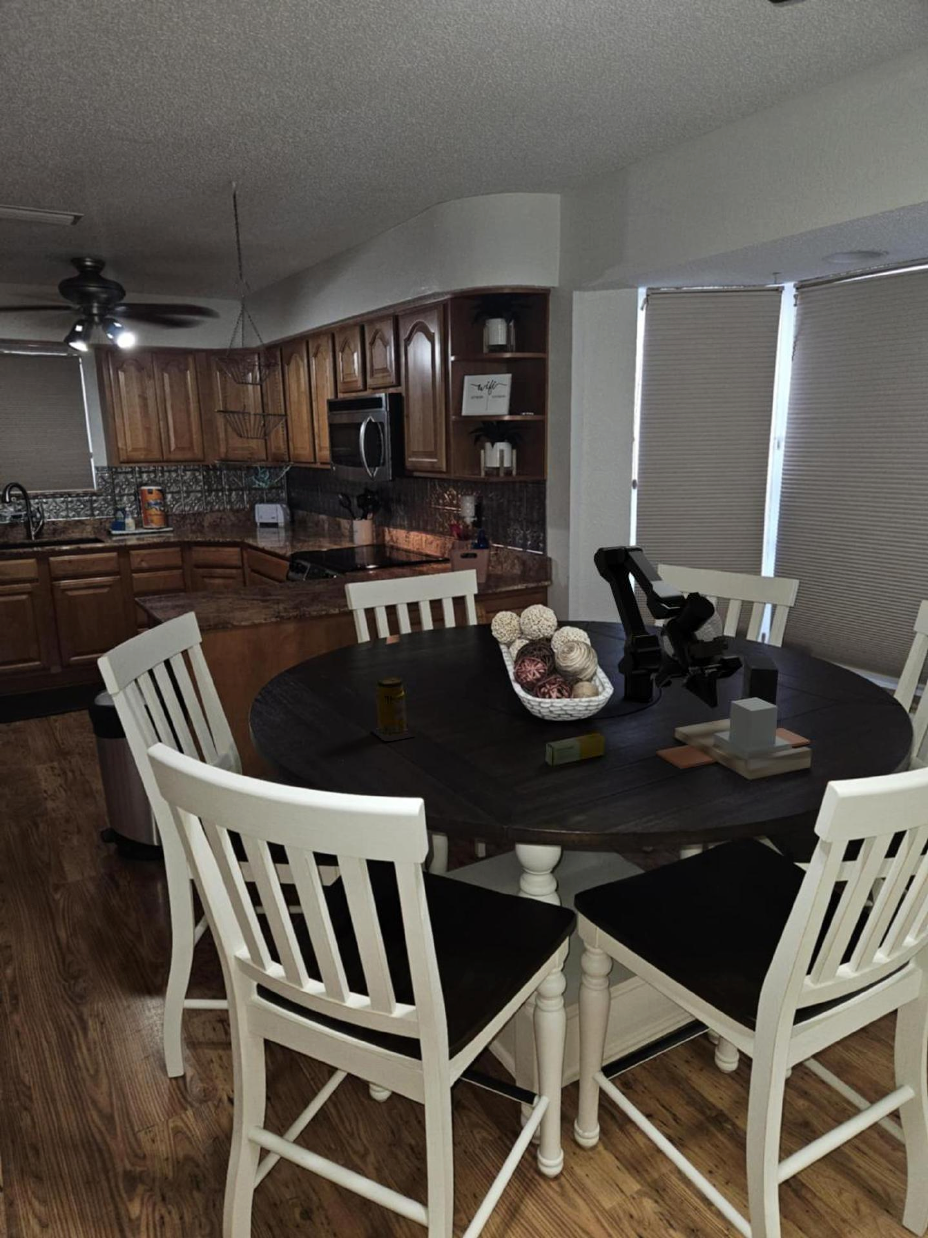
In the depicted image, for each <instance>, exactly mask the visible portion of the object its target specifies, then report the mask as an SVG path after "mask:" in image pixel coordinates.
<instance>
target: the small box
mask: <svg viewBox="0 0 928 1238" xmlns="http://www.w3.org/2000/svg"><path fill="white" fill-rule="evenodd" d="M743 658H744V659H743V675H742V686H741V687H742V688H741V689H742V690H741V700H743V699H749V698H755V697H756V698H759V699H761V700H764V701H766V702H768V703H771V704H773V705H775V706H777V705H776V704H777V693H778V682H779V681H778V680H779V668H778V666H777V665H776V664H775V662H774V661H773V658H772V657H768V656H767V657H765V656H753V655H752V656H749V655H745V656H744V657H743Z"/></svg>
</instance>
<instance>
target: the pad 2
mask: <svg viewBox="0 0 928 1238" xmlns="http://www.w3.org/2000/svg"><path fill="white" fill-rule="evenodd" d="M776 736H777V737H779V738H782V739H784V740H786V741H788V742H790V743H791V748H794V747H798V746H804V745H810V744H811V740H810V739H807V738H805V737H803V736H802V735H798V733H797V734H796V733H795V732H792V731H790V730H787V729H785V728H783V727H778V728H776Z"/></svg>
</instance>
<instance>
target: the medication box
mask: <svg viewBox="0 0 928 1238" xmlns="http://www.w3.org/2000/svg"><path fill="white" fill-rule="evenodd" d="M605 740H606V738H605V737H604V735H602V734H601V733H599V732H595V733H592V734H591V733H590V734H586V735H581V736H575V737H571V738H567V739H561V740H558V741H551V742H547V743H545V744H546V747H545V751H546V752H545V762H546V763H547V764H548V765H550V766H557V765H561V764H566V763H571V762H575V761H581V760H585V759H589V758H594V757H598V756H603V755H605V742H606V741H605Z"/></svg>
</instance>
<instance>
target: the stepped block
mask: <svg viewBox="0 0 928 1238" xmlns="http://www.w3.org/2000/svg"><path fill="white" fill-rule="evenodd" d="M778 709H779V707H778V706H777V705H776V706H775V705H773V704H771V703H768V702H766V701H764V700H761V699H759V698H756V697H755V698H749V699H743V700H742V699H739V700H732V701H730V711H729V712H730V715H729V719H730V730H729V731H726V732H720V733H715V734H714V743H715V744H716V745H718V746H720V747H722V748H724V749H726V750H727V751H729V752H731V753H733V754H735V755H737V756H738V757H740V758H742V759H744V760H745V759H747V758H752V757H757V756H762V755H767V754H772V753H777V752H782V751H787V750H791V748H792V747H791V743H790V742H788V741H786V740H784V739H782V738H779V737H777V736H776V729H777V727H778V725H777V722H778V712H779V711H778Z"/></svg>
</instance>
